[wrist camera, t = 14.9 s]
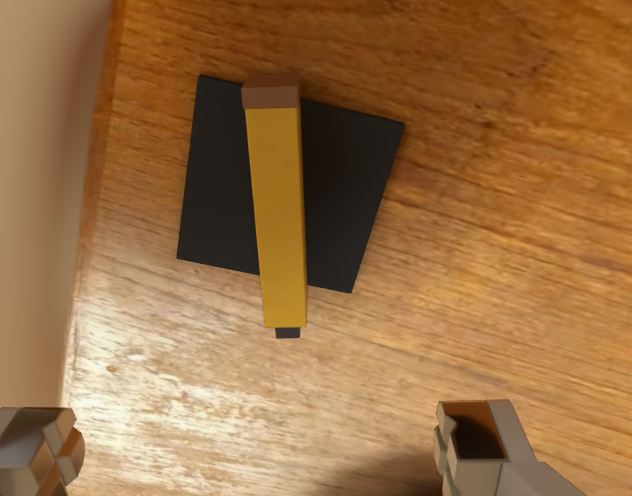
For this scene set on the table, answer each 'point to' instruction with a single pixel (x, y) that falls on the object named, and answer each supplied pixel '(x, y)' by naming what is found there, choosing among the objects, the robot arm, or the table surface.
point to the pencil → (278, 197)
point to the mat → (318, 183)
